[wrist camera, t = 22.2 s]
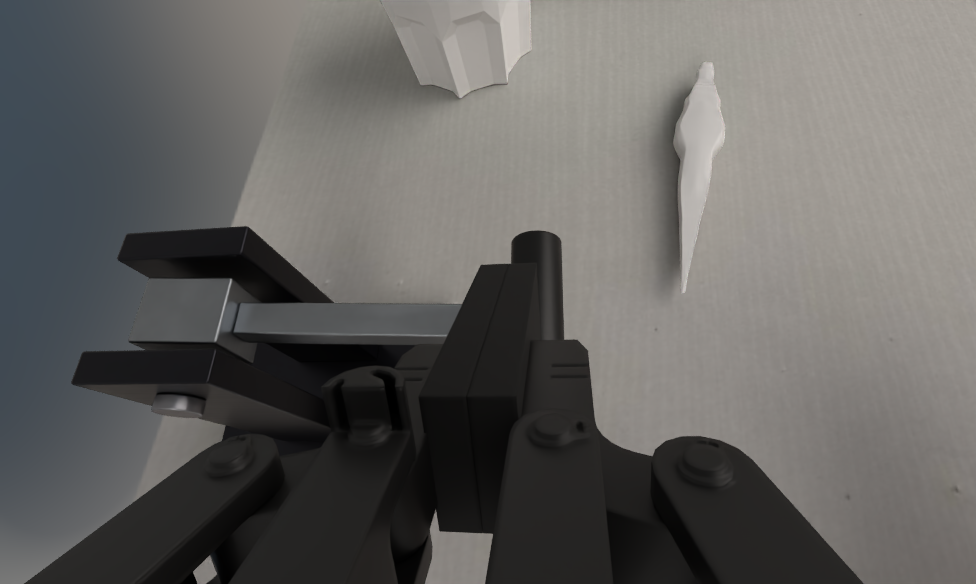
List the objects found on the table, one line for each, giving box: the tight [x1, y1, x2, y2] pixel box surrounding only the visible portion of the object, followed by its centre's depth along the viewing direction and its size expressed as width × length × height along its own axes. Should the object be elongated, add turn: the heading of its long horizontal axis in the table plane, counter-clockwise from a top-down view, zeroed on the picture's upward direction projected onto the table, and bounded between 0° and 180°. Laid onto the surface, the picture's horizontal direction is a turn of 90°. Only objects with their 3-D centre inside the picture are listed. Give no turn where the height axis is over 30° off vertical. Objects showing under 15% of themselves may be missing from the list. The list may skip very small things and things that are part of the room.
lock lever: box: [128, 231, 564, 365], centre depth 16 cm, size 13×6×2 cm, turn 88°
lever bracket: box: [71, 226, 416, 456], centre depth 21 cm, size 11×8×13 cm
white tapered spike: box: [673, 62, 726, 294], centre depth 28 cm, size 15×3×2 cm, turn 166°
